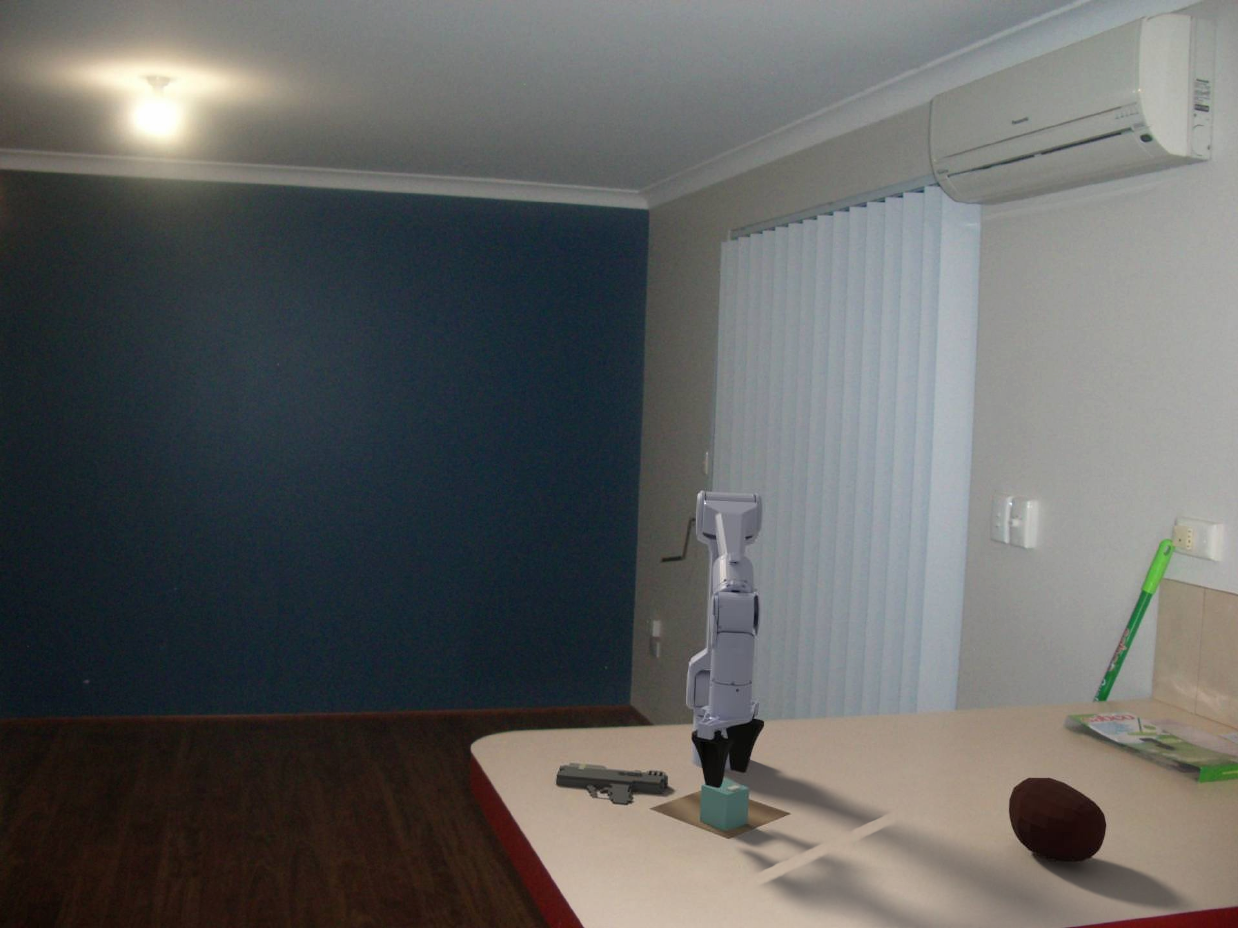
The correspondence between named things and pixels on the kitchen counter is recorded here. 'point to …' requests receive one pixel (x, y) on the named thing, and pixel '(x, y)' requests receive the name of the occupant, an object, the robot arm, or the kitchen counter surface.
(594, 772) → the toy gun
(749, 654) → the robot arm
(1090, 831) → the potato
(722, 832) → the board
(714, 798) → the teal cube
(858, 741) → the kitchen counter surface
